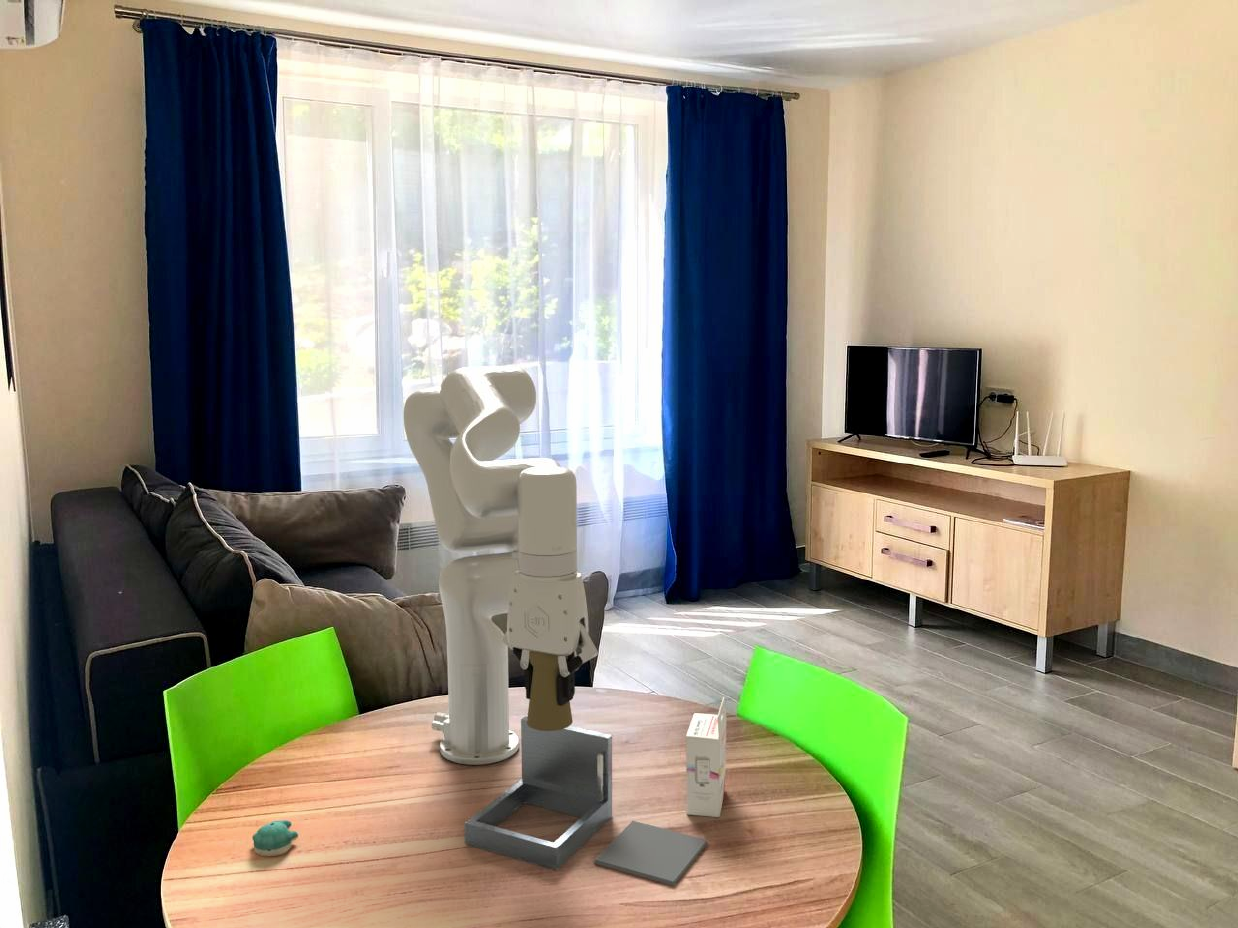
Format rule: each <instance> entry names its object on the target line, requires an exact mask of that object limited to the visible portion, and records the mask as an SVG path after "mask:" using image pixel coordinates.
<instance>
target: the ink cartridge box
mask: <svg viewBox="0 0 1238 928" xmlns="http://www.w3.org/2000/svg"><path fill="white" fill-rule="evenodd" d="M717 713H718V714H712V713H701V712H700V713H699V712H694V713H693V715H692V717H691V718H692V719H691V721H690V723H689V727H688V729H687V732H686V735H685V743H686V744H685V745H686V750H685V751H686V752H685V753H686V754H685V755H686V758H685V759H686V760H685V761H686V766H685V767H686V815H691V816H702V817H703V816H705V817H713V818H719V817H720V816H721V812H722V805H723V803H724V802H723V800H724V794H725V790H726V759H727V753H726V752H727V707H726V698H725V696H723V697H722V701H721V703H720V706H719V710H718V712H717Z"/></svg>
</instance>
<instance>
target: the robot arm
mask: <svg viewBox="0 0 1238 928" xmlns="http://www.w3.org/2000/svg"><path fill="white" fill-rule="evenodd" d="M536 403H537V391H536V385H535V384H534V381H533V379H532V377H531V376H530V374H529V373H528V372H527V370H525V369H522V367H519V366H516V365H498V366H497V365H494V366H493V365H492V366H490V365H488V366H487V365H486V366H467V367H461V368H457V369H455V370H453V371H451V372H450V373H448V374H447V375H446V376H445V377H444V378H443V381H442V382H441V384H440V386H435V387H434V386H433V387H427V388H424V389H419V390H417V391H415V392H413V393H411V394H410V395H409V396H408V397H407V398H406V400H405V402H404V406H403V425H404V431H405V432H404V433H405V437H406V439H407V444H408V445H409V447H410V451H411V452H412V454H413V456H414V458H415V460H416V461H417V464H418V465H419V467H420V469H421V471H422V474H423V476H424V478H425V481H426V482H425V483H426V485H427V491H428V496H429V499H430V504H431V509H432V514H433V519H434V523H435V528H436V532H437V535H438V539H439V541H440V545H442V547H443V548H444V549H445V550H446V551H448V552H450V553H456V554H457V553H459V554H461V553H462V554H463V553H464V554H465V553H474V552H475V553H477V552H484V551H493V550H501V549H502V550H503V549H504V550H506V552H498V553H494V552H493V553H486V554H477V555H475V554H474V555H468V556H464V557H459V558H456V559H453V560H451V561H449V562H448V563H447V564H445V566H443V568H442V569H441V571H440V573H439V574H440V575H439V577H438V584H439V585H438V587H439V594H440V600H441V605H442V610H443V614H444V615H443V616H444V623H445V624H444V625H445V633H446V635H445V637H446V657H447V662H446V663H447V688H448V689H447V690H448V691H447V693H448V694H447V696H448V699H447V701H448V713H444V712H440V711H439V712H436V713H435V714H434V717H433V721H432V723H431V729H432V730H435V731H439V732H440V731H441V732H442V733H443V738H442V739H441V740H440V743H439V752H440V754H441V756H442V757H443V758H445V759H446V760H448V761H451V762H453V763H457V764H459V765H470V766H471V765H472V766H474V765H476V766H477V765H488V764H493V763H497V762H500V761H504V760H506V759H508V758H510V757H511V756H513V755H514V754H516V752H517V751H519V750H518V749H519V748H520V737H518V735H517V734H516V733H515V732H514V731H512V730H510V709H509V708H510V707H509V706H510V704H509V701H510V700H509V699H510V697H509V653H508V652H509V649H510V650H511V651H512V652H513V654H514V655H515V657H516V659H517V660H519V663H520V668H522V669H523V670H524V689H525V698H526V699H528V700H530V694H531V685H532V675H533V666H532V664H531V663H530V659H529V651H534V652H539V653H545V654H551V655H557V656H558V663H559V669H560V675H558V676H557V678H556V690H557V703H558V705H560V706H563V705H564V704H566V703H567V702H569V701H570V702H571V701H572V700H573V699H574V696H575V694H576V693H575V692H576V679H575V676H576V675H575V673H576V671H578V670H579V668H580V667H582V665H584V664H585V663H586V662H588V661H590V660H591V659H594V658H595V657H597V656H598V654H599V651H598V649H597V647H596V646H595V644H594V642H593V640H592V638H591V637H590V634H589V615H588V614H589V613H588V605H587V604H588V603H587V596H586V590H585V585H584V581H583V577H582V574H581V573H579V572H578V513H577V511H578V509H577V507H578V504H577V501H578V500H577V479H576V478H577V477H576V475H575V473H574V471H572V470H571V469H569V468H567V467H562V465H560V464H559V462H557V460H555V459H553V458H550V457H549V458H547V457H533V458H531V457H530V458H514V459H501V460H500V459H499V458H501V457H502V456H504V455H505V454H507V453H508V452H509V451H510V450H511V449H512V448H513V447H514V446H515V445H516V443H517V441H518V439H519V437H520V432H521V426H520V425H521V424H523V423H524V422H525V421H527V420H528V419H529V418H530V417H531V415H532V414H533V412H534V410H535V407H536V405H537V404H536ZM450 439H455V440H454V443H453V442H452V441H451V440H450ZM496 459H499V460H496ZM502 614H507V615H506V616H507V620H506V632H505V633H504V632H503V631H502V630H501V628H499V626H498V625H497V624H496V623H494V622H493V620H492V617H494V616H496V615H497V616H498V615H502ZM578 648H580V649H581V652H580V653H579V654H577V649H578ZM567 656H568V657H567Z"/></svg>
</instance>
